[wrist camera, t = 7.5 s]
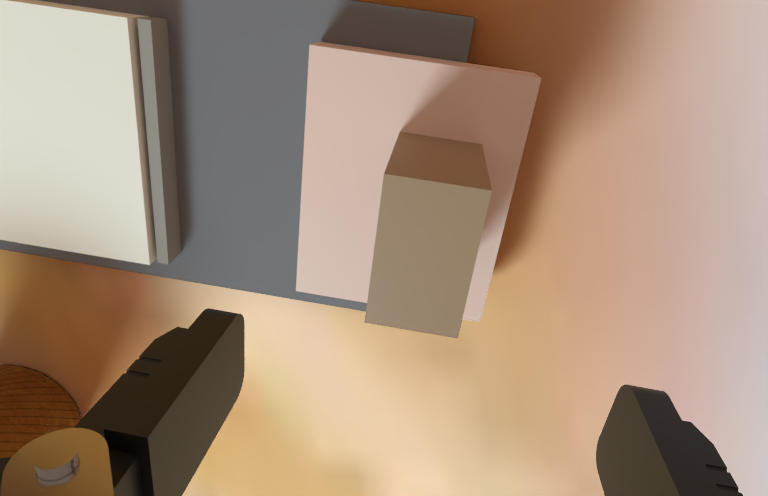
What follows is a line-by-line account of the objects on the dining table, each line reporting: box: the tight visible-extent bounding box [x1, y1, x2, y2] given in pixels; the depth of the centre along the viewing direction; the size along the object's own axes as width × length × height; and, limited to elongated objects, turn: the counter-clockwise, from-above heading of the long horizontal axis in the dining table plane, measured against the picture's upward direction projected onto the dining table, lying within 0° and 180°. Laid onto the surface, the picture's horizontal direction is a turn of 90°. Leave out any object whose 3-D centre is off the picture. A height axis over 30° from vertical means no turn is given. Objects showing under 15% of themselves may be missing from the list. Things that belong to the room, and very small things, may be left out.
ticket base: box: [0, 0, 475, 311], centre depth 21 cm, size 24×13×2 cm, turn 83°
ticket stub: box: [296, 41, 541, 338], centre depth 18 cm, size 8×10×6 cm
